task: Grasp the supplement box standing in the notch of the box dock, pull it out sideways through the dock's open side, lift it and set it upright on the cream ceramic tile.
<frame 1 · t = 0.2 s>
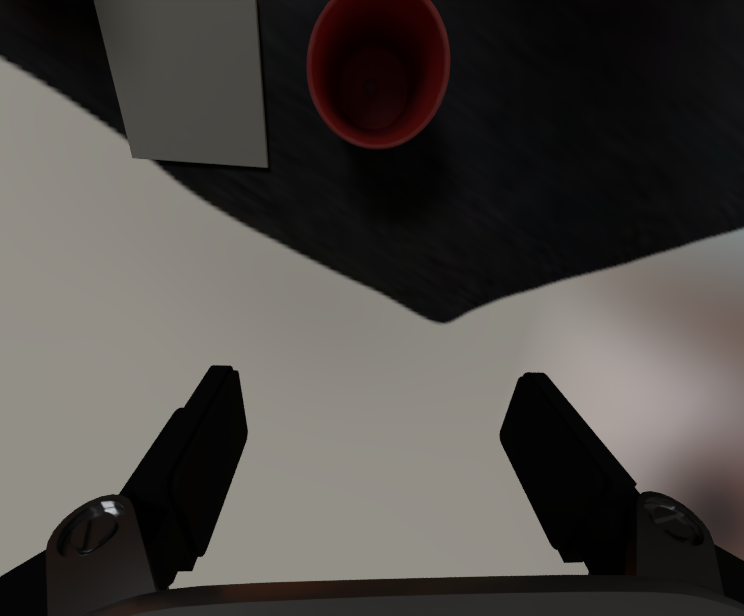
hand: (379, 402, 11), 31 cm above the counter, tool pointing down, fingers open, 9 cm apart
flower pot: (372, 90, 33), on the counter
tile: (191, 85, 32), on the counter
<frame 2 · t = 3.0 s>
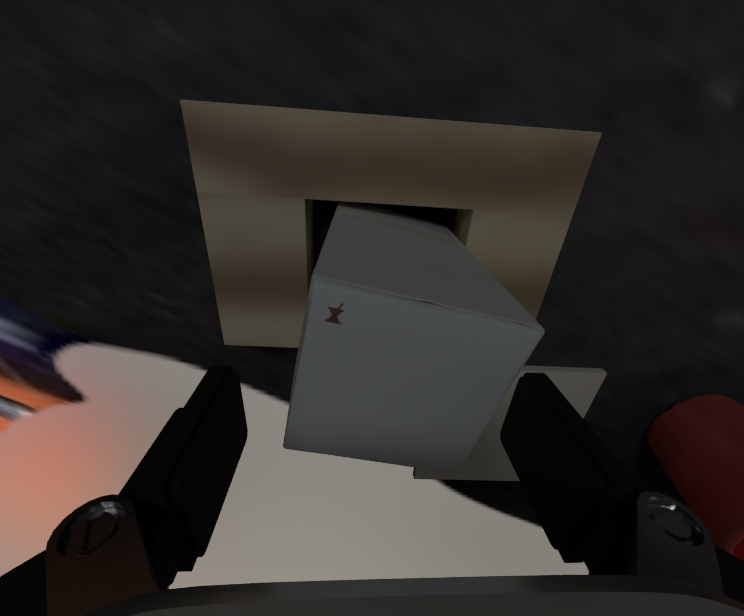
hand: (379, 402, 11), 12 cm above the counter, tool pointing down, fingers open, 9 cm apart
flower pot: (687, 421, 30), on the counter
tile: (498, 426, 29), on the counter
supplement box: (380, 263, 22), on the counter, touching gripper
box dock: (380, 264, 22), on the counter
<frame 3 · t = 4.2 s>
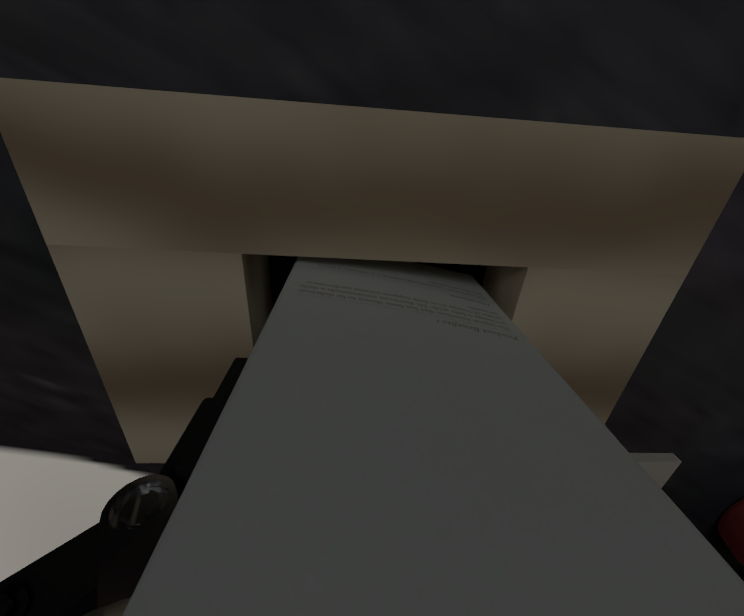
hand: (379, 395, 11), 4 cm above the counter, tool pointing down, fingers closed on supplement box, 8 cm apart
tile: (530, 520, 22), on the counter
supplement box: (373, 328, 15), on the counter, touching gripper
box dock: (374, 332, 15), on the counter
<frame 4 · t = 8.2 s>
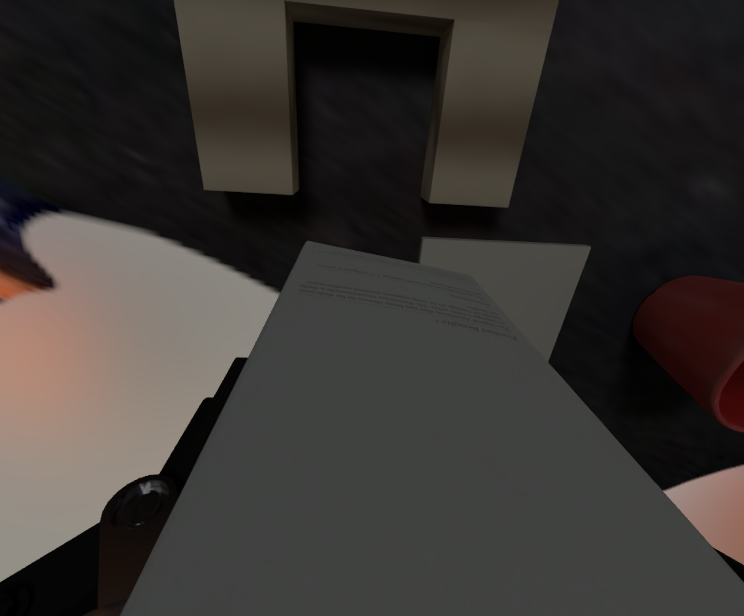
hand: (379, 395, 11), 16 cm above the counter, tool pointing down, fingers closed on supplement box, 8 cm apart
flower pot: (669, 311, 30), on the counter
tile: (486, 316, 29), on the counter
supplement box: (373, 328, 15), point 12 cm above the counter, touching gripper
box dock: (364, 115, 21), on the counter
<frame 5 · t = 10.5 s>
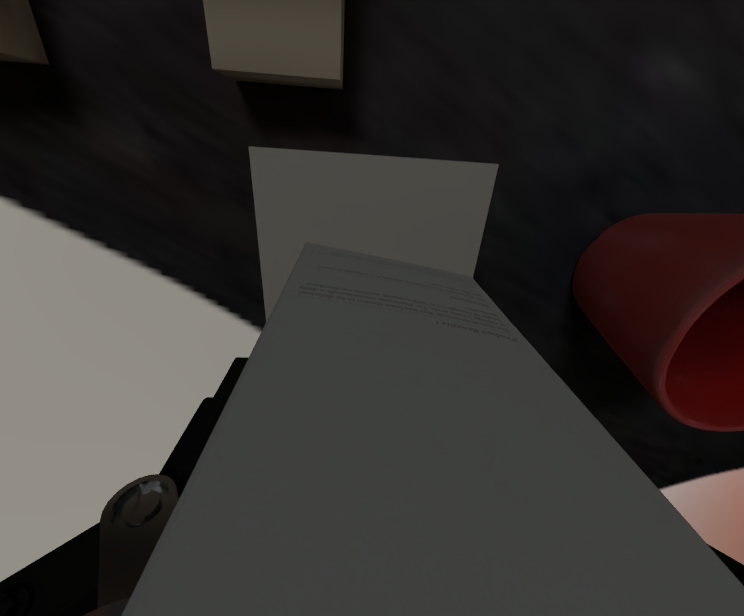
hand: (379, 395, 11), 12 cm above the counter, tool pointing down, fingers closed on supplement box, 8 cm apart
flower pot: (623, 266, 23), on the counter
tile: (368, 269, 22), on the counter
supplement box: (373, 329, 15), point 8 cm above the counter, touching gripper
when the fingers open (5 cm above the counter, at t = 12.3 s): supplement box stays where it is, resting on tile.
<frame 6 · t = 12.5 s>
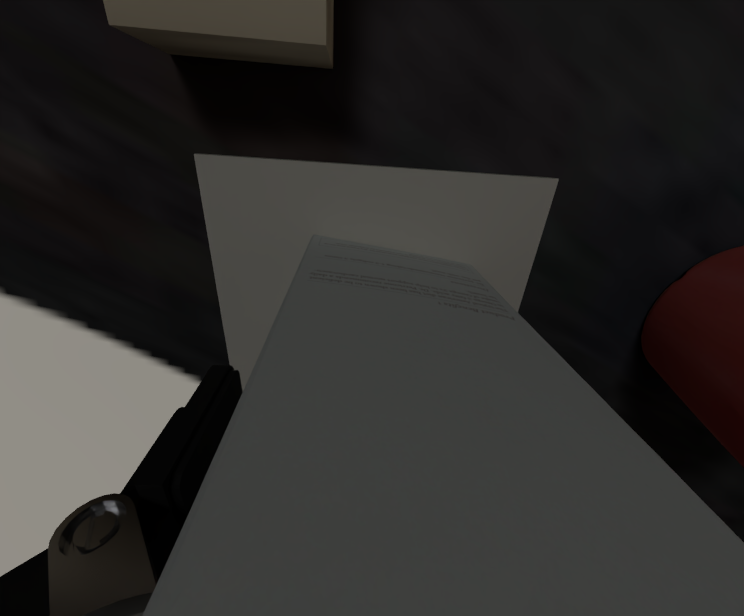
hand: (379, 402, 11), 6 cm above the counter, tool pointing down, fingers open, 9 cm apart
flower pot: (709, 311, 17), on the counter
tile: (371, 319, 16), on the counter
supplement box: (378, 318, 15), resting on tile
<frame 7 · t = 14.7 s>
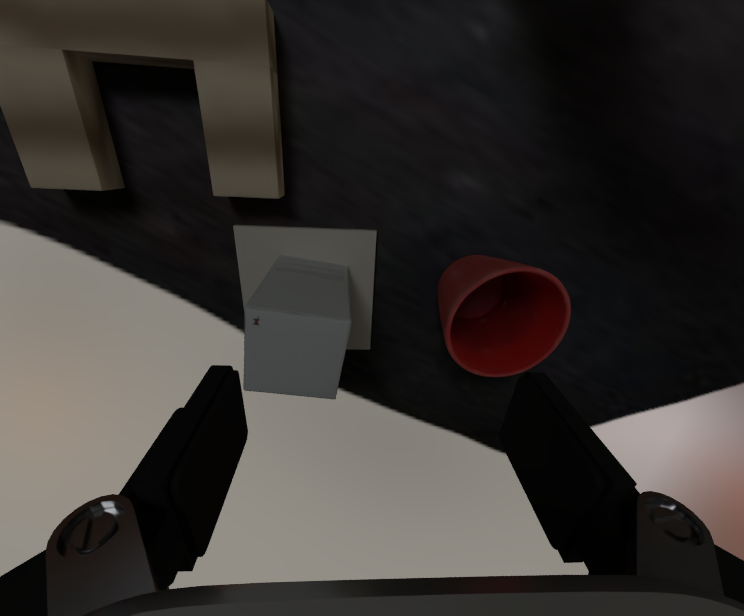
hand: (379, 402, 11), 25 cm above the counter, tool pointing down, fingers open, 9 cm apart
flower pot: (469, 286, 36), on the counter
tile: (309, 291, 35), on the counter
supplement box: (311, 291, 35), resting on tile
box dock: (163, 129, 28), on the counter
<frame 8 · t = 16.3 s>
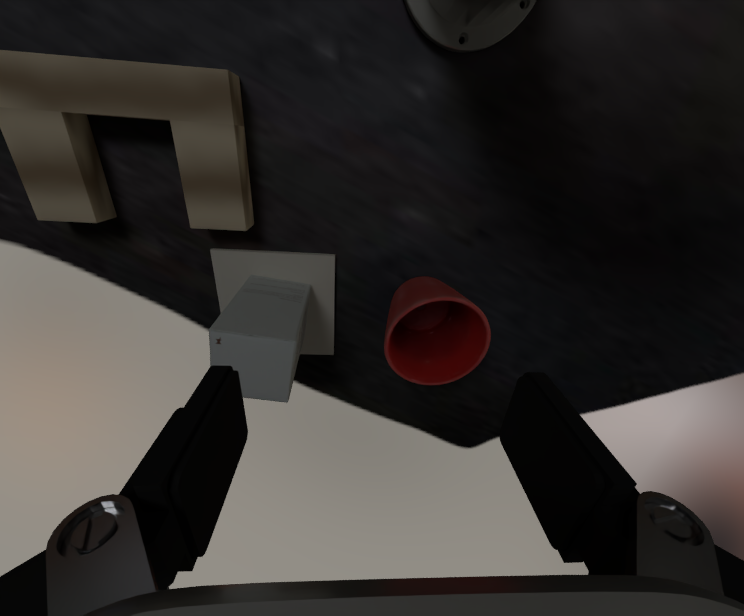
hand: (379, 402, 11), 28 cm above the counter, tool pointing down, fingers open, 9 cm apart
flower pot: (420, 302, 41), on the counter
tile: (278, 305, 40), on the counter
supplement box: (280, 304, 40), resting on tile
box dock: (148, 169, 32), on the counter
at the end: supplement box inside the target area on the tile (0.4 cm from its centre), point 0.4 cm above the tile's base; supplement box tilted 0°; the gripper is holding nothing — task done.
